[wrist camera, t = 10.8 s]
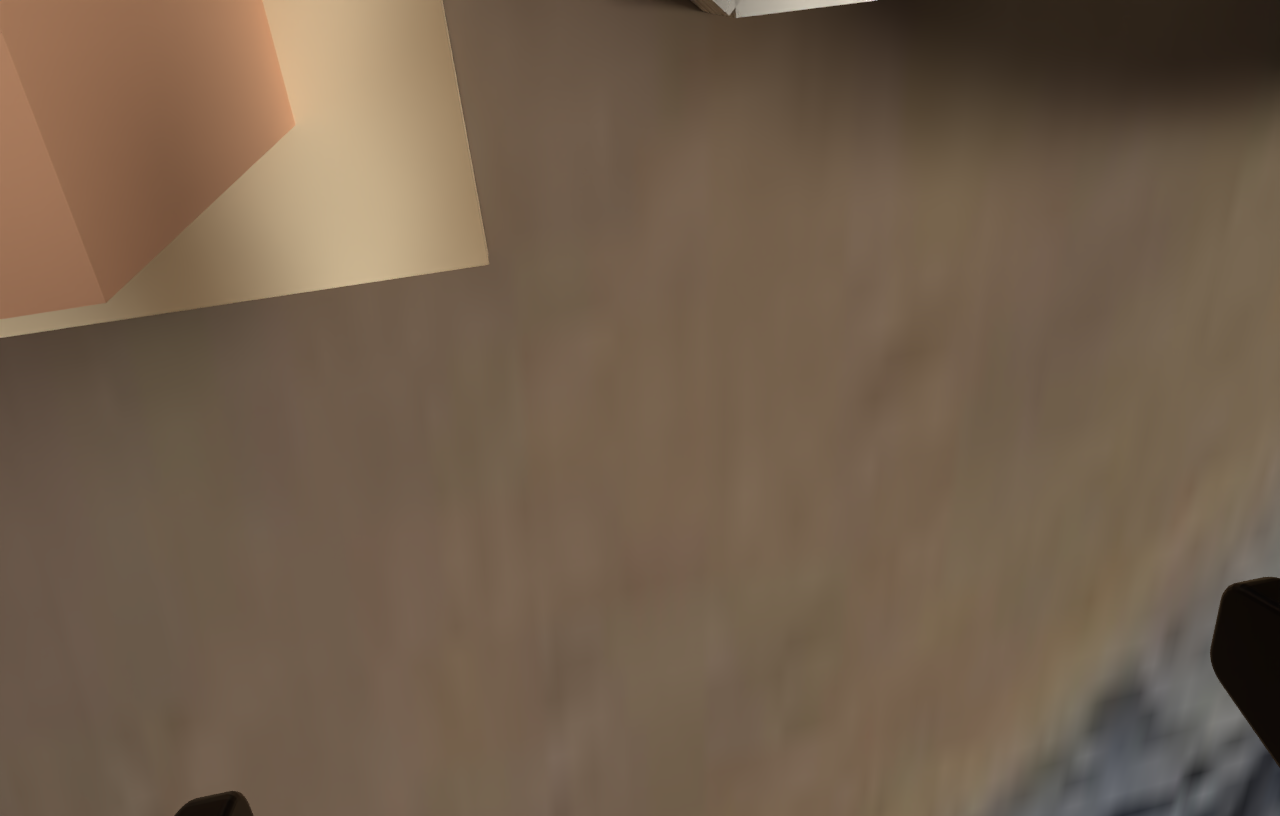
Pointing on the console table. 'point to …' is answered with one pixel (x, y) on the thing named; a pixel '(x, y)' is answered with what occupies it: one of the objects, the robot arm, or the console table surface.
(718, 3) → the metal ring
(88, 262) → the peg
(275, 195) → the maple board
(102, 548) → the console table surface
